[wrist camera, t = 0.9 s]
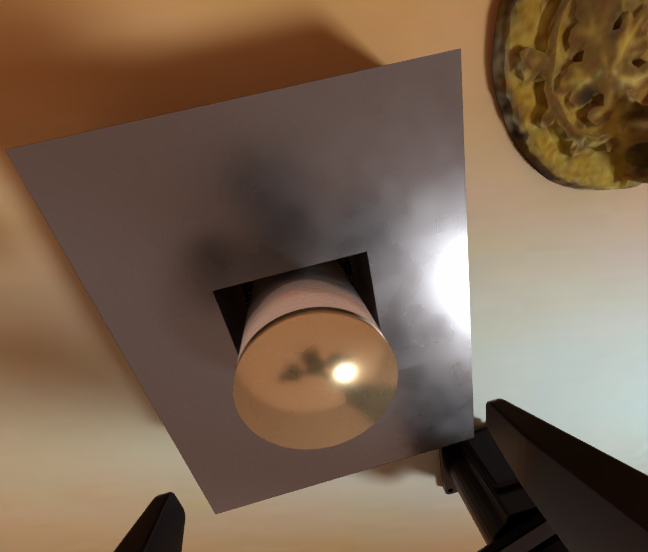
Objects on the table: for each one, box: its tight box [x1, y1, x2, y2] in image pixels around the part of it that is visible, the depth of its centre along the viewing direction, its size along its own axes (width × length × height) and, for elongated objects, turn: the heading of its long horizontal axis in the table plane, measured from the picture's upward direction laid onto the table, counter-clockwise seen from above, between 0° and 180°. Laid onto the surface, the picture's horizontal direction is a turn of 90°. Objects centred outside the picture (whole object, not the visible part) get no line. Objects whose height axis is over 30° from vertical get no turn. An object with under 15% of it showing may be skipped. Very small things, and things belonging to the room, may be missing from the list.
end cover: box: [233, 260, 398, 450], centre depth 15 cm, size 6×6×8 cm
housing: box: [5, 49, 474, 514], centre depth 16 cm, size 20×16×5 cm
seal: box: [493, 0, 648, 190], centre depth 15 cm, size 9×5×15 cm
